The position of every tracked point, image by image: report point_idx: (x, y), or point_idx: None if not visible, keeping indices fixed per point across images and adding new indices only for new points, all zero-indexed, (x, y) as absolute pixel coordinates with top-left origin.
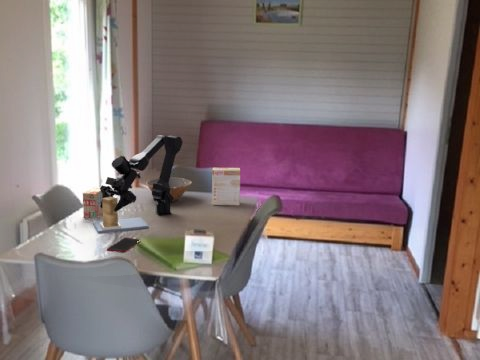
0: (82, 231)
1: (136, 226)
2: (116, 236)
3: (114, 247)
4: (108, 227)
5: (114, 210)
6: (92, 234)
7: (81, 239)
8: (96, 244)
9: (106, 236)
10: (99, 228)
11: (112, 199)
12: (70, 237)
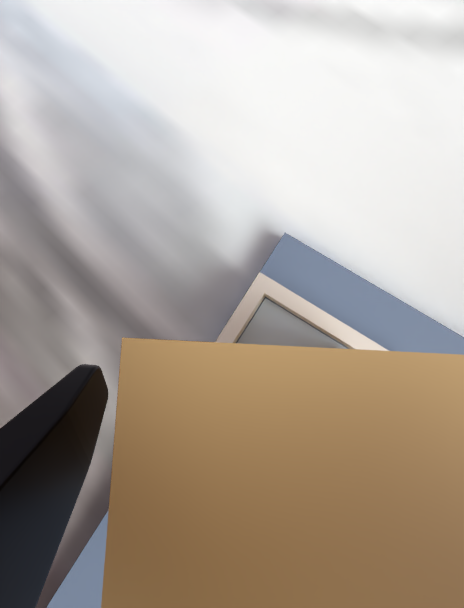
0: (452, 181)
1: (79, 585)
2: (88, 280)
3: None
4: (229, 319)
5: (82, 366)
6: (302, 184)
7: (271, 43)
8: (81, 48)
9: (158, 226)
10: (341, 296)
11: (110, 505)
12: (390, 13)
